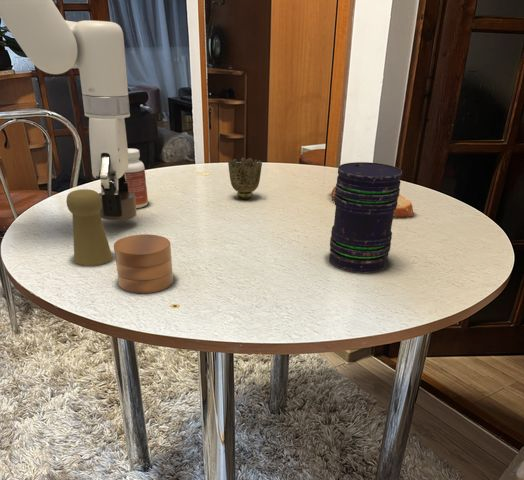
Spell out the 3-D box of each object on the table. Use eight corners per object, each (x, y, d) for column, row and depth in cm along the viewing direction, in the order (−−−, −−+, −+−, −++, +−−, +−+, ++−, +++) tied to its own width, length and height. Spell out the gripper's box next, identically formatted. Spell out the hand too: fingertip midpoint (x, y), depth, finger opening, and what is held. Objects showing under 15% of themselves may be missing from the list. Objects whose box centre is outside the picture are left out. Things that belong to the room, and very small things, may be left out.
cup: (235, 204, 112) (235, 166, 107) (223, 195, 117) (223, 158, 113) (266, 200, 114) (267, 163, 110) (253, 192, 120) (254, 156, 116)
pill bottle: (154, 205, 109) (149, 151, 103) (129, 211, 106) (122, 154, 100) (138, 199, 113) (132, 146, 107) (113, 204, 109) (106, 149, 103)
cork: (113, 251, 87) (104, 185, 81) (111, 265, 82) (101, 196, 76) (76, 252, 86) (64, 186, 80) (71, 266, 81) (58, 196, 75)
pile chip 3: (114, 293, 73) (112, 280, 72) (124, 270, 80) (122, 258, 79) (170, 293, 74) (169, 280, 73) (175, 271, 80) (174, 259, 79)
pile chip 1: (110, 267, 71) (108, 253, 70) (120, 246, 78) (119, 233, 77) (168, 267, 72) (167, 254, 71) (173, 246, 78) (172, 234, 77)
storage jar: (400, 266, 84) (417, 172, 76) (354, 277, 80) (367, 180, 72) (360, 246, 91) (371, 159, 83) (316, 256, 87) (324, 165, 79)
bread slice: (414, 219, 105) (418, 201, 103) (327, 213, 108) (329, 195, 106) (408, 196, 120) (411, 180, 118) (332, 190, 123) (333, 174, 121)
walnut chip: (94, 219, 94) (92, 200, 92) (102, 208, 100) (100, 189, 98) (133, 220, 94) (131, 201, 92) (139, 209, 100) (137, 191, 98)
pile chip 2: (112, 280, 72) (110, 267, 71) (122, 258, 79) (120, 246, 78) (169, 280, 73) (168, 267, 72) (174, 259, 79) (173, 246, 78)
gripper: (95, 99, 94) (106, 196, 104) (70, 112, 80) (86, 224, 89) (136, 101, 95) (143, 197, 104) (119, 114, 80) (129, 225, 89)
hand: (117, 209), depth 96 cm, fingers closed on walnut chip, 7 cm apart
